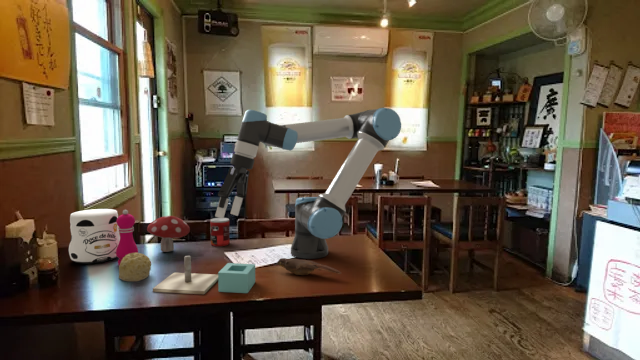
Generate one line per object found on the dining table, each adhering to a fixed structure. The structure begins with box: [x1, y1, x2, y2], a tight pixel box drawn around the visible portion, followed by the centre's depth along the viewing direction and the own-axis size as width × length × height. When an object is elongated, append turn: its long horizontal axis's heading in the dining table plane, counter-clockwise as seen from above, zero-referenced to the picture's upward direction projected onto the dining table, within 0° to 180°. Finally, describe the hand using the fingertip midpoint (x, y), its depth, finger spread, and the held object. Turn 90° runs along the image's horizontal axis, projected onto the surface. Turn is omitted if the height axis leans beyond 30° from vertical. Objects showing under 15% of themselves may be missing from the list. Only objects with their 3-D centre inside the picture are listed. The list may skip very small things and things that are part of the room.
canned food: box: [209, 217, 231, 247], centre depth 170 cm, size 8×8×11 cm
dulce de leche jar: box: [68, 208, 120, 265], centre depth 147 cm, size 17×17×18 cm
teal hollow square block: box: [217, 262, 256, 294], centre depth 123 cm, size 9×9×6 cm
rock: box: [118, 252, 152, 282], centre depth 130 cm, size 10×11×10 cm
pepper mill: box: [116, 209, 139, 266], centre depth 142 cm, size 7×7×20 cm
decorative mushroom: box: [146, 215, 191, 253], centre depth 158 cm, size 16×16×15 cm
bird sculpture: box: [272, 257, 342, 276], centre depth 134 cm, size 7×25×5 cm, turn 71°
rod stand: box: [152, 255, 218, 295], centre depth 124 cm, size 16×14×9 cm
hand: (227, 216), depth 133 cm, fingers open, 13 cm apart
